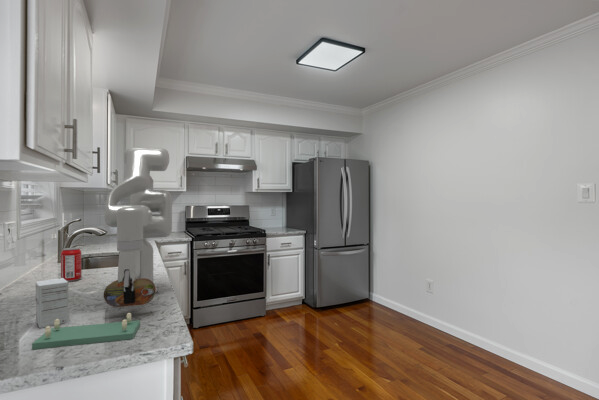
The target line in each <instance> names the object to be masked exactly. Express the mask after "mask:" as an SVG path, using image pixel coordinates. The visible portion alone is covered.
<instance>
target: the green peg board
mask: <svg viewBox="0 0 599 400" xmlns="http://www.w3.org/2000/svg"><path fill="white" fill-rule="evenodd" d="M53 326H54V327H52V326H47V327H44V333H43V334H42V335H41V336H39V337H38V338H37V339H35V340H34V341H33V342H32V343H31V350H40V349H48V348H50V349H51V348H58V347H67V346H77V345H78V346H79V345H85V344H97V343H105V342H106V343H107V342H117V341H125V340H133V339H134V337H135V336H136V333H137V331H138V329H139V328H140V326H141V320H140V319H138V320H132V313H131V312H128V313H127V314H126V319H123V320H121V321H116V322H105V323H97V324H96V323H95V324H83V325H74V326H63V327H61V324H60V320H59V319H56V320H55V321H54V325H53Z"/></svg>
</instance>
